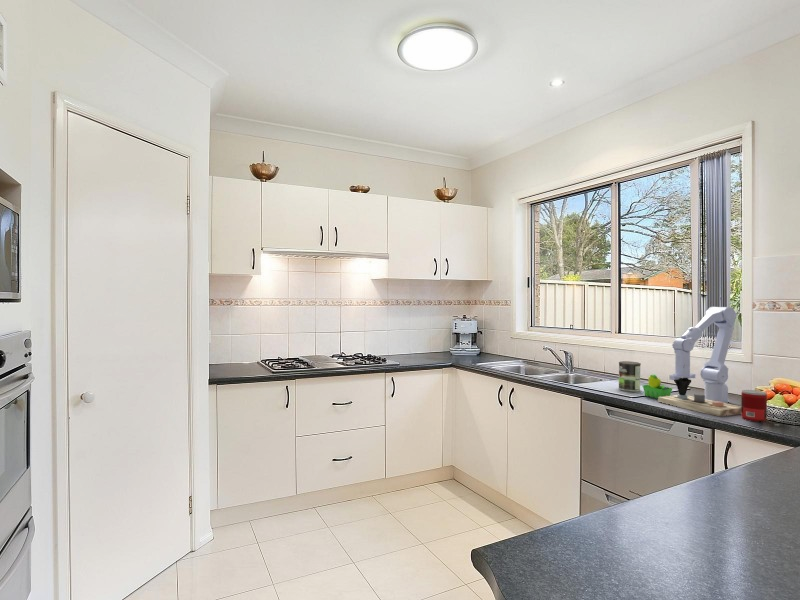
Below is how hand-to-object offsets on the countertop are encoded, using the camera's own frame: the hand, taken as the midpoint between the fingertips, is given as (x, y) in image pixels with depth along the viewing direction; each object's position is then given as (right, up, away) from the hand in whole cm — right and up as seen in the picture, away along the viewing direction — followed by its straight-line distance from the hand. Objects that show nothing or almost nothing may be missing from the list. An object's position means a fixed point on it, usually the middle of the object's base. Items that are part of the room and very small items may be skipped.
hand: (682, 394), depth 214 cm
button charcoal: (+3, -2, -7) cm, 8 cm away
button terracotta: (+6, -4, -15) cm, 16 cm away
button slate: (0, -4, 0) cm, 4 cm away
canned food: (+12, -4, -28) cm, 30 cm away
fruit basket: (-5, -4, +13) cm, 15 cm away
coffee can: (-8, -4, +32) cm, 34 cm away
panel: (+3, -4, -7) cm, 9 cm away
